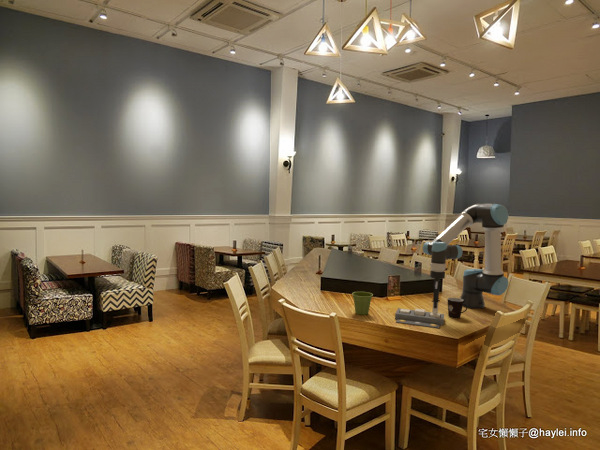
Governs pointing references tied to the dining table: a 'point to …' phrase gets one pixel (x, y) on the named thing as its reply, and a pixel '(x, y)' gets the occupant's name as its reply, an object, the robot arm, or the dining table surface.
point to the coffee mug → (455, 307)
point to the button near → (435, 315)
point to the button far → (405, 311)
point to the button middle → (419, 312)
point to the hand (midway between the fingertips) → (434, 313)
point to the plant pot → (362, 302)
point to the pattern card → (418, 323)
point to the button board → (419, 317)
